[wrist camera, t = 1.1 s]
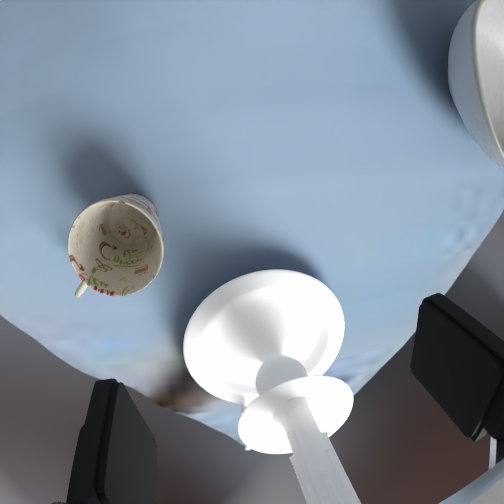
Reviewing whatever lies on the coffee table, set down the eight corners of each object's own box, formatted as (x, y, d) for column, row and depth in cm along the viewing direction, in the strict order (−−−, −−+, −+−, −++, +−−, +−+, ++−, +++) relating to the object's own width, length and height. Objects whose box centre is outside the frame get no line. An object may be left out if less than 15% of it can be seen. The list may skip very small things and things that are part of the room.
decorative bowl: (486, 201, 43) (540, 221, 31) (381, 95, 34) (447, 87, 23) (525, 87, 37) (573, 90, 26) (438, -22, 29) (490, -41, 17)
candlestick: (170, 402, 43) (182, 580, 17) (199, 245, 36) (236, 473, 10) (298, 409, 48) (363, 553, 23) (355, 273, 41) (508, 414, 16)
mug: (185, 215, 35) (184, 243, 25) (120, 295, 36) (104, 343, 27) (126, 167, 32) (103, 178, 22) (66, 254, 33) (32, 292, 24)
